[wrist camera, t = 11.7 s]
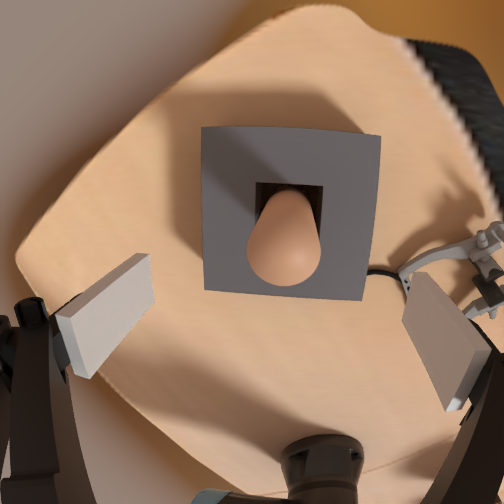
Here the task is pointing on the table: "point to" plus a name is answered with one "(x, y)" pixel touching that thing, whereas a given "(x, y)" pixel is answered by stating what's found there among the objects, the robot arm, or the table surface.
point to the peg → (285, 239)
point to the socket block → (288, 172)
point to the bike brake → (480, 258)
